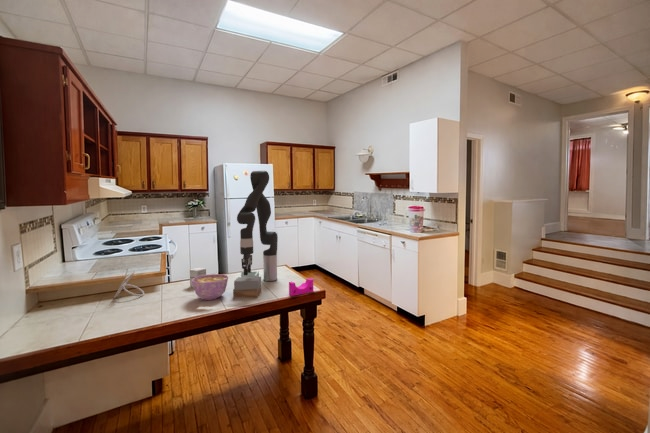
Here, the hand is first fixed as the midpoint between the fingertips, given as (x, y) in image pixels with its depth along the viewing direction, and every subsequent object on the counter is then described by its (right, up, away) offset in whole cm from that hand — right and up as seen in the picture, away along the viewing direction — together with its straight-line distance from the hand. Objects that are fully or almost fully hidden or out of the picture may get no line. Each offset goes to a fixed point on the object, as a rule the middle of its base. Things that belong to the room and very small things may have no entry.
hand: (247, 273), depth 182 cm
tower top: (0, -8, 0) cm, 8 cm away
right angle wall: (-5, -12, +24) cm, 28 cm away
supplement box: (-36, -13, +16) cm, 42 cm away
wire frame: (-72, -17, -2) cm, 74 cm away
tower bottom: (0, -13, 0) cm, 13 cm away
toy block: (+31, -13, +5) cm, 34 cm away
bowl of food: (-20, -13, -4) cm, 25 cm away
